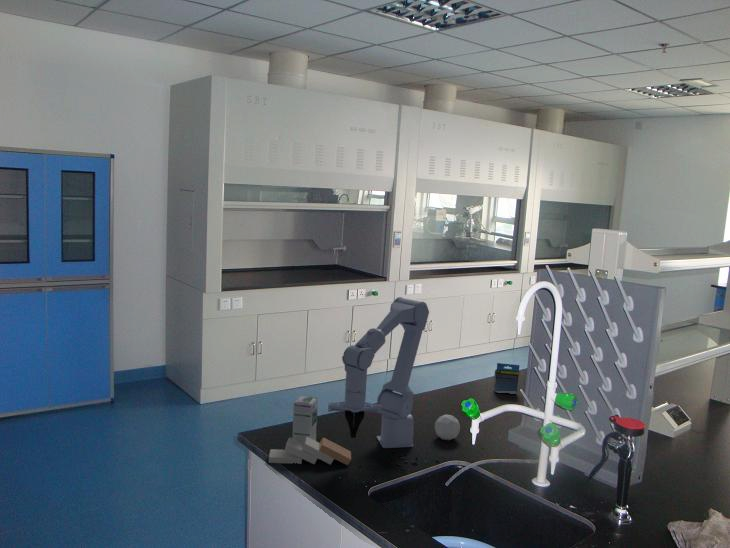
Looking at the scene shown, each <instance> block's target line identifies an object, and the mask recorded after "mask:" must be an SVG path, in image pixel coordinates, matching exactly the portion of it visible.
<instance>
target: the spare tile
mask: <svg viewBox="0 0 730 548" xmlns="http://www.w3.org/2000/svg"><path fill="white" fill-rule="evenodd" d="M319 443H320V444H319V451H320V452H322V453H324V454H326V455H328V456H330V457H332V458H334V460H336V461H338V462H340V463H342V464H344V465H345V466H349V464H350V462H351V461H352V451H351V450H348V449H347V448H345V447H343V446H341V445H339V444H337V443H335V442H334V441H331V440H330V439H327V438H325V437H322V438H321V440H320V442H319Z"/></svg>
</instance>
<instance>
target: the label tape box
mask: <svg viewBox="0 0 730 548" xmlns="http://www.w3.org/2000/svg"><path fill="white" fill-rule="evenodd" d="M507 367H508V368H507ZM519 377H520V365H519V364H512V363H501V362H497V363H496V369H495V370H494V376H493V387H492V390H493V389H494V391H516V392H517V393H518V386H519ZM494 391H493V392H494Z"/></svg>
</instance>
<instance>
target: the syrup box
mask: <svg viewBox="0 0 730 548" xmlns="http://www.w3.org/2000/svg"><path fill="white" fill-rule="evenodd" d="M318 400H319V399H318V397H314V396H308V395H306V396H305V395H300V396H299V397H298V398H297V399H296V400H295V401H293V408H292V410H293V411H292V413H293V415H292V438H293V439H295V440H297V441H300V442H302V443H303V442H304V440H305V438H306V437H309V438H311V439H313V440H315V441H317V435H318V433H317V432H318V430H317V429H318V406H319V405H318Z"/></svg>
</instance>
